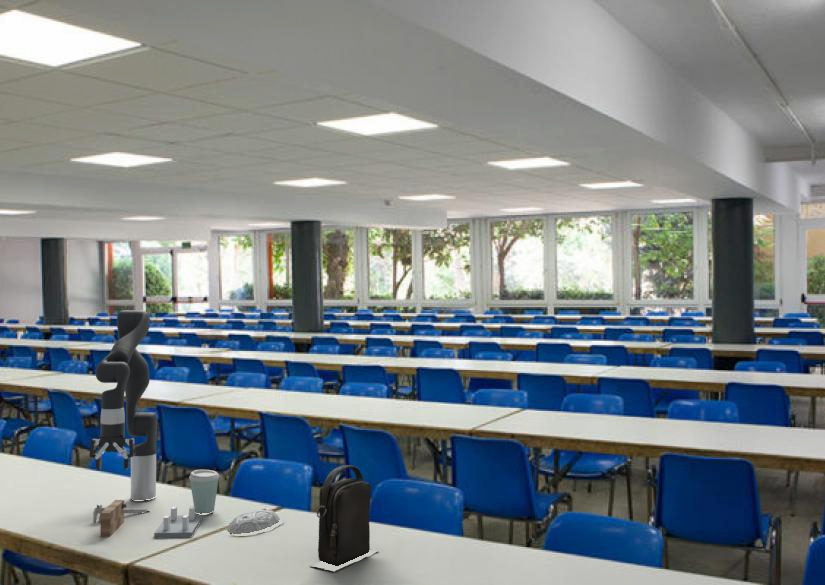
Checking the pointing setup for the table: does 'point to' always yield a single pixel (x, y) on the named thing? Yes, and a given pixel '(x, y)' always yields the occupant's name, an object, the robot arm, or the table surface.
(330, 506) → the shoulder bag
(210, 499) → the disposable coffee cup
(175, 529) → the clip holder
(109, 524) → the cabinet door
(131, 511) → the caliper
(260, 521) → the oval brooch
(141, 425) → the robot arm
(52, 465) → the table surface
